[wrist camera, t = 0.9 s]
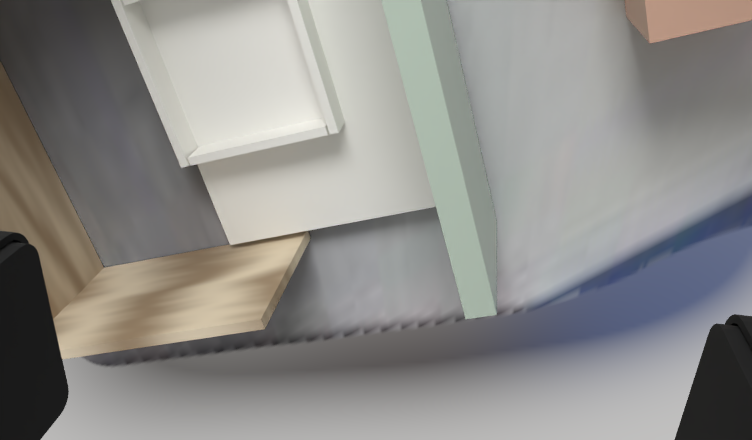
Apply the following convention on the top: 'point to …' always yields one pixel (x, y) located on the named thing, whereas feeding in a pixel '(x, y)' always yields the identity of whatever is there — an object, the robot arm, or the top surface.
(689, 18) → the block
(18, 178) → the caddy
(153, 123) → the top surface
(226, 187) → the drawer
